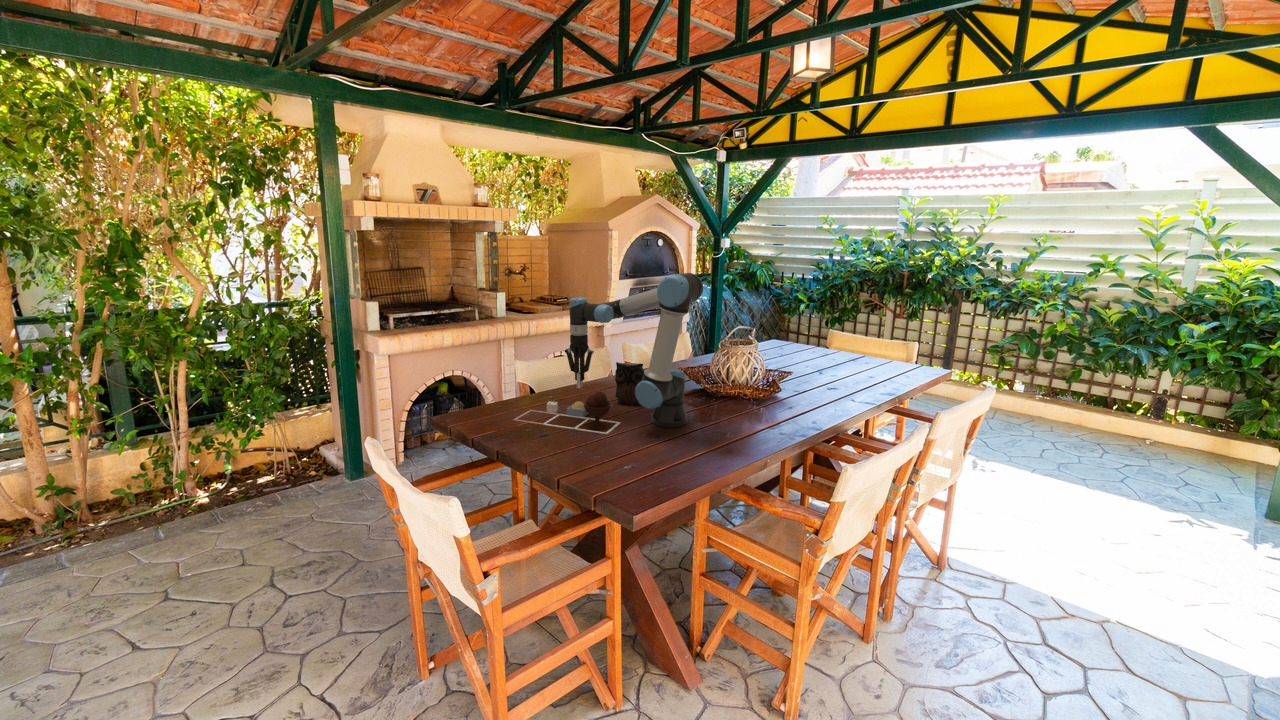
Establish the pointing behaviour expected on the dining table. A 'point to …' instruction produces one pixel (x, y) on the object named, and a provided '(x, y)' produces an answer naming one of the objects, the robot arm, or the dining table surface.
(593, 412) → the ice cream bowl
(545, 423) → the track
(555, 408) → the die
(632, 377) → the owl
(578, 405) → the dome
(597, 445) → the dining table surface
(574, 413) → the base
